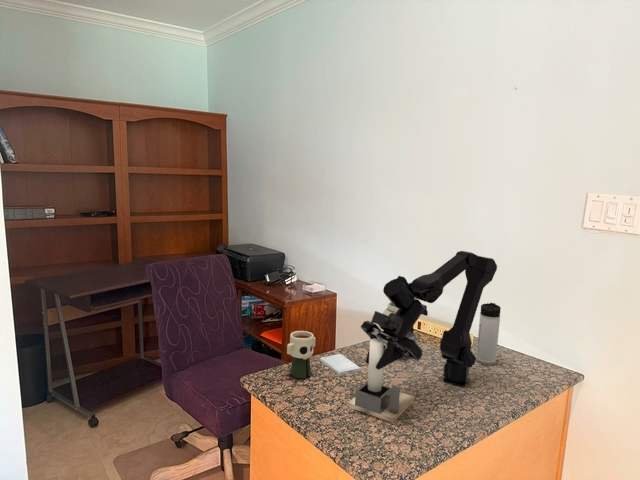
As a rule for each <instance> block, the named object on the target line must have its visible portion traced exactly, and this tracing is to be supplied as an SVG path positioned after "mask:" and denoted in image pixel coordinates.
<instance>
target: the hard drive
mask: <svg viewBox="0 0 640 480" xmlns="http://www.w3.org/2000/svg"><path fill="white" fill-rule="evenodd" d="M319 361H320V362H321V363H323V364H324V365H325V366H327V367H328V368H329V369H330V370H332V371H333V372H334V373H336V375H338V376H343V375H347V374H353V373H357V372H361V371H362V368H361V367H360V366H358V365H357V364H356V363H354V362H353V361H352V360H350V359H348V358H347V357H346V356H344V355H343V354H341V353H338V354H332V355H328V356H322V357H320V359H319Z"/></svg>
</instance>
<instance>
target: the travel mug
mask: <svg viewBox="0 0 640 480" xmlns="http://www.w3.org/2000/svg"><path fill="white" fill-rule="evenodd" d="M501 310H502V309H501V306H500V305H498V304H496V303H493V302H489V303H483V304H481V305H480V313H479V321H478V322H479V325H478V337H477V347H476V356H475V357H476V361H475V362H477V363H478V364H480V365H482V364H483V366H487V365H492V366H495V365H496V363H497V354H498V344H499V343H498V342H499V332H500V322H501Z"/></svg>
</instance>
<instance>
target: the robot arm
mask: <svg viewBox="0 0 640 480" xmlns="http://www.w3.org/2000/svg"><path fill="white" fill-rule="evenodd" d="M497 270H498V265H497V263H496V261H495V259H494V258H491V257H486V256H482V255H477V254H475V253H473V252H472V251H471V252H469V251H466V250H465V251H464V250H460V251H457V252H456V254H455V255H454V256H453V257H451V258H450V259H449V260H447V261H446V262H445V263H443V264H442V265H441V266H439V267H438V268H437V269H436V270H435V271H433V272H431V273H428V274H423V275H420V276H417V277H416V278H415V279H413V280H412V281H411V282H410V283H409V282H408V281H407V278H406V277H405V276H401V275H398V276H397V277H396V278H394V279H391V280H390V281H388V282H386V283H385V284H384V287H383V291H382V292H383V294H384V295H385V297H387V299H388V300H389V302H391V303H392V304H393V305H394V306H395V307H396V308H399V309H398V310H397V312H396V313H395V314H394V313H390V314H389V316H387V315H385V314H383V313H381V312H380V311H376V310H375V311H374V313H373V316H372V318H371V320H366V321H365V320H364V322H363V323H362V324H361V325H360V328H361V330H362V331H364V333H365V334H366V335H367V336H368V337H369V338H370V339H369V340H371V339H381V340H383V341H384V340H385V341H387V342H388V343H387V345H386V346H385V345H384V351H385V349H386V351H385V352H384V351H383V356H382V357H381V359H380V360H379V362H378V363H377V365H376V368H377V369H378V370H379V369H381V368H384V367H386V366H388V365H390V364H392V363H394V362H395V361H398V360H402V359H401V358H406V356H405V354H406V353H407V351H409V356H410V357H411V359H413V360H414V361H417V362H418V361H419V360H420V359H421V358H422V356H423V349H422V348H421V347H420V346H419V345H418V344H417V341H416V342H415V341H414V340H412V339H409V338H407V337H406V336H407V334H408V333H409V332H412V333H414V332H415V329H414V325H415V324H416V323H417V321H418V319H419V318H420V317H421V315H423V316H426V317H427V316H428V314H429V313H428V310H427V307H428V306H427V305H426V304H423V303H422V302H425V303H428V304H433V303H435V302H436V301H437V300H438V299H439V298H440V297H441V296H442V294H443V293H444V288H445V287H446V286H447V285H448V284H449V283H451V282H452V281H453V280H454V279H456V278H457V277H458V276H459V275H461V274H462V273H463V272H464V273H465V278H466V281H467V282H466V285H465V287H464V291H463V294H462V297H461V301H460V303H459V305H458V310H457V313H456V315H455V320H454V321H453V326H452V327H451V328H450V329H448V330H446V329H445V330H443V333H442V337H441V339H440V341H439V343H440V344H439V349H440V354H441V357H442V359H444V360H446V362H445V363H444V364H443V380H442V381H443V382H445V383H448V384H453V385H456V386H459V387H463V388H464V387H466V385H467V384H468V383H469V381H470V380H471V378H470V377H469V376H470V374H469V373H470V368H472V367H473V366H474V365H475V363H476V362H477V361H476V356H475V354H474V353H473V352H472V350H471V349H472V338H471V335H470V333H471V328H472V327H473V322H474V320H475V316H476V314H477V309H478V307H479V304H480V301H481V297H482V293H483V290H484V288H485V287H486V286H487V285H488V284H489V283H491V282H492V281H493V279H494V276H495V275H496V272H497ZM421 301H422V302H421ZM387 337H388V338H387ZM369 350H370V347H369V348H368V350H367V355H366V359H365V363H366V364H367V365H369Z"/></svg>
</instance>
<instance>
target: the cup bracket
mask: <svg viewBox="0 0 640 480" xmlns="http://www.w3.org/2000/svg"><path fill="white" fill-rule="evenodd" d="M400 392H401V388H400V387H397V386H395V385H393V386H392V387H389V386H386V385H383V384H382V388H381V391H379V392H372V391H370V390H368V380H367V381H366V382H365V383H364V384H362V385H361V386H360V387H359V388H357V389H356V390H355V395H354V397H355V406H358V407H361V408H364V409H367V410H370V411H373V412H376V413H379V414H381V413H382V412H383V411H384V410H385V409H386V408H387V407H388V406H389V405H390V407H389V412H390V413H393V414H397V413H398V412H399V397H400Z"/></svg>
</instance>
